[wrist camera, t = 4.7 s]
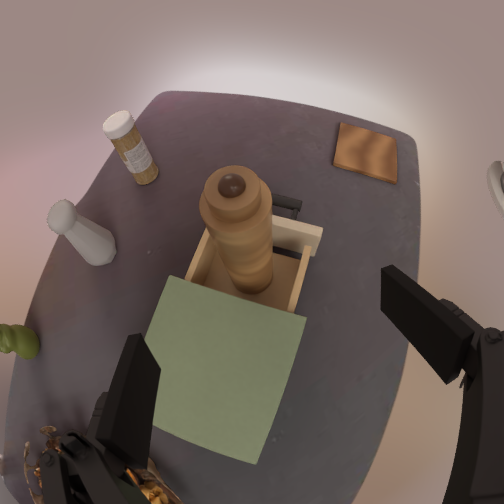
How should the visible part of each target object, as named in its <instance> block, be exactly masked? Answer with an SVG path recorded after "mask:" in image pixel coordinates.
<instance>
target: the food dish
mask: <svg viewBox="0 0 504 504" xmlns="http://www.w3.org/2000/svg"><path fill="white" fill-rule="evenodd" d="M52 431H53V432H55V431H57V430H56V428H55V427H53V426H46V427H43V428H41V429H40V433H42V434H45V435H47V436H49V437H50V439H49V440H48V441H47V443H46V445H47V447H48V449H53V450H55V451H57V452H58V453H59V454H60V455H61V454H64V453H63V452H62V451H61V450H60V449H59V445H58V444H59V440H60V438H61V436H57V437H53V436H50V435H49V434H48V432H49V433H52ZM79 433H80V432H79ZM81 434H82V433H81ZM82 435H83V434H82ZM84 437H86V436H84ZM25 445H26V447H25V450H24V458H25V463H24V472H25V477H26V480H27V483H28V479H27V471H28V470H29V469H35V471H34V474H35V475H36V476H39V477H38V479H39V482H38V484H39V485H40V487H41V488H42V485H41V477H40V465H39V461H40V459H38V460H37V462H36V465H35V466H32V467H31V466H29V465H28V464H27V463H26V456H28V454H29V453H28V451H29V449H30V445H29V442H26V444H25ZM48 449H45V450H48ZM43 452H44V451H43ZM43 452H42V453H43ZM124 470H125V471H126V472H128V474H129V475H130V476H131V478H132V479H133V481H134V482H135V483H136V485H137V486H138V487H139V489H140V490H141V491H142V492H143V494H144V495H145V496H146V497H147V499H148V500H149V501H150V502H151V503H152V504H184V503H183V502H182V501H181V500H180V499H179V498H178V497H177V496H176V495H175V493H174V492H173V491H172V490H171V489H170V488H169V486H168V485H167V484H166V483H165V482H164V481H163V480H162V478H161V477H160V473H159V472H158V471H157V469H156V466H155V464H154V462H153V461H152V460H151V459H150V458H149V457H148V467H147V470H143V469H132V468H130V467H129V466H128V465H126V464H125V468H124ZM29 489H30V488H29ZM30 494H31V495H32V498H33V500H34V503H35V504H44V499H43V495H36V494H34V493H33V492H32V490H31V489H30Z"/></svg>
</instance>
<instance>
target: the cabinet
mask: <svg viewBox="0 0 504 504" xmlns="http://www.w3.org/2000/svg"><path fill="white" fill-rule="evenodd" d="M306 319H307V317H304V316H300V315H297V314H293V313H290V312H286V311H283V310H279V309H276V308H272V307H269V306H265V305H262V304H259V303H255V302H252V301H249V300H245V299H242V298H239V297H236V296H233V295H229V294H226V293H223V292H220V291H217V290H214V289H211V288H208V287H205V286H201V285H198V284H195V283H192V282H189V281H187V280H184V279H181V278H178V277H175V276H172V275H169V277H168V280H167V282H166V285H165V287H164V290H163V292H162V295H161V297H160V300H159V302H158V305H157V307H156V310H155V313H154V315H153V318H152V320H151V323H150V326H149V329H148V331H147V334H146V337H145V339H144V340H145V342H146V344H147V346H148V347H149V349H150V351H151V353H152V354H153V356H154V358H155V360H156V361H157V363H158V365H159V366H160V368H161V374H160V380H159V386H158V392H157V398H156V404H155V411H154V418H153V425H154V426H156V427H158V428H160V429H162V430H164V431H167V432H169V433H171V434H173V435H175V436H177V437H180V438H182V439H184V440H187V441H189V442H191V443H194V444H196V445H199V446H201V447H204V448H206V449H209V450H212V451H215V452H217V453H220V454H223V455H226V456H229V457H232V458H235V459H238V460H242V461H245V462H248V463H252V464H256V463H257V461H258V458H259V456H260V453H261V451H262V448H263V446H264V444H265V441H266V438H267V436H268V433H269V431H270V428H271V425H272V423H273V420H274V417H275V415H276V412H277V409H278V407H279V404H280V401H281V398H282V395H283V392H284V389H285V387H286V384H287V381H288V378H289V375H290V372H291V369H292V365H293V362H294V359H295V356H296V353H297V350H298V346H299V343H300V340H301V336H302V333H303V330H304V326H305V323H306Z"/></svg>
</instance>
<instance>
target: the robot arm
mask: <svg viewBox="0 0 504 504" xmlns="http://www.w3.org/2000/svg"><path fill="white" fill-rule="evenodd" d="M500 181H501V187H502V190H503V193H504V172H503V174H502V175H501V178H500ZM381 311H382V312H383V313H384V314H385V315H386V316H387V317H388V318H389V319H390V320H391V321H392V323H393V324H394V325H395V326H396V327H397V328H398V329H399V330H400V331H401V333H402V334H403V335H404V336H405V337H406V338H407V339H408V340H409V342H410V343H411V344H412V345H413V346H414V347H415V348H416V349H417V351H418V352H419V353H420V354H421V355H422V356H423V358H424V359H425V360H426V361H427V362H428V363H429V365H430V366H431V367H432V368H433V369H434V371H435V372H436V373H437V374H438V375H439V377H440V378H441V379H442V380H443V381H444V383H445V384H446V385H447V384H449V383H450V382H452V381H453V380H455V379H456V378H457V377H458V376H459V374H460V371H461V369H463V370H464V371H465V372H466V373H465V375H464V377H463V379H462V382H461V384H460V388H462V385H463V383H464V391H463V404H462V414H461V423H460V430H459V437H458V443H457V448H456V453H455V458H454V463H453V467H452V471H451V475H450V479H449V483H448V486H447V490H446V493H445V496H444V499H443V502H442V504H504V331H500V330H498V329H496V328H491V327H490V328H486V329H484V328H483V327H482V326H480V325H479V324H478V323H477V322H475V321H474V320H473V319H472V318H471V317H470V316H469V315H467V314H466V313H464V311H462V310H461V309H459V307H457V306H456V305H455V304H454V303H453V302H450V301H448V300H446V299H441V300H437V299H436V298H435V297H434V296H432V295H431V294H430V293H429V292H427V291H426V290H425V289H424V288H422V287H421V286H420V285H418V284H417V283H416V282H415V281H413V280H412V279H411V278H410V277H408V276H407V275H406V274H404V273H403V272H402V271H400V270H399V269H398V268H396V267H395V266H394V265H389V266H387V267H384V268H381ZM160 374H161V368H160V366H159V365H158V363H157V361H156V360H155V358H154V356H153V354H152V353H151V351H150V349H149V347H148V346H147V344H146V342H145V340H144V339H143V337H142V335H141V333H139V334H134V335H128V338H127V341H126V343H125V346H124V349H123V351H122V354H121V357H120V359H119V362H118V365H117V368H116V371H115V374H114V376H113V379H112V382H111V385H110V388H109V391H108V392H103V393H102V394H101V396H100V397H99V398H98V400H97V402H96V405H95V408H94V409H95V410H94V411H93V415H92V416H93V417H92V418H91V421H90V424H89V427H88V431H87V434H86V437H84V436H83V435H82V434H81V433H79V432H78V431H76V430H70V431H67V432H65V433H64V434H63V435H62V436H61V438H60V440H59V444H58V445H59V449H60V450H61V451H62V452H63V453H64V454H61V455H60V454H59V453H58V452H57V451H55V450H53V449H48V450H46V451H44V452H43V453H42V454H41V457H40V461H39V465H40V477H41V485H42V493H43V499H44V504H152V503H151V502H150V501H149V500H148V499H147V497H146V496H145V495H144V494H143V492H142V491H141V490H140V489H139V487H138V486H137V485H136V483H135V482H134V481H133V479H132V478H131V476H130V475H129V474H128V472H126V471H125V470H124V468H125V464H126V465H128V466H129V467H130V468H132V469H143V470H147V467H148V457H149V448H150V440H151V432H152V425H153V418H154V411H155V404H156V398H157V392H158V386H159V380H160Z"/></svg>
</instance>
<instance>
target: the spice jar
mask: <svg viewBox="0 0 504 504" xmlns="http://www.w3.org/2000/svg"><path fill="white" fill-rule="evenodd" d="M103 131H104V133H105V134H106V136H107V137H108V138H109V139H110V140H111V142H112V143H113V145H114V147H115V148H116V150H117V152H118V153H119V155H120V157H121V159H122V160H123V162H124V163H125V165H126V167H127V168H128V170H129V171H130V172H131V173H132V175H133V177H134V178H135V181H136V182H137V183H138V184H141V185H145V184H148V183H150V182H152V181H153V180H154V179H155V178H156V177H157V175H158V171H159V170H158V167H157V166H156V165H155V163H154V161H153V159H152V156H151V154H150V152H149V151H148V149H147V147H146V145H145V143H144V141H143V139H142V137H141V135H140V134H139V132H138V130H137V128H136V126H135V123H134V119H133V117H132V115H131V113H130V112H129V111H126V110H124V111H119V112H117V113H114V114H113V115H111V116H110V117H109V118H108V119H107V120H106V121H105V122H104V124H103Z"/></svg>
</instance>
